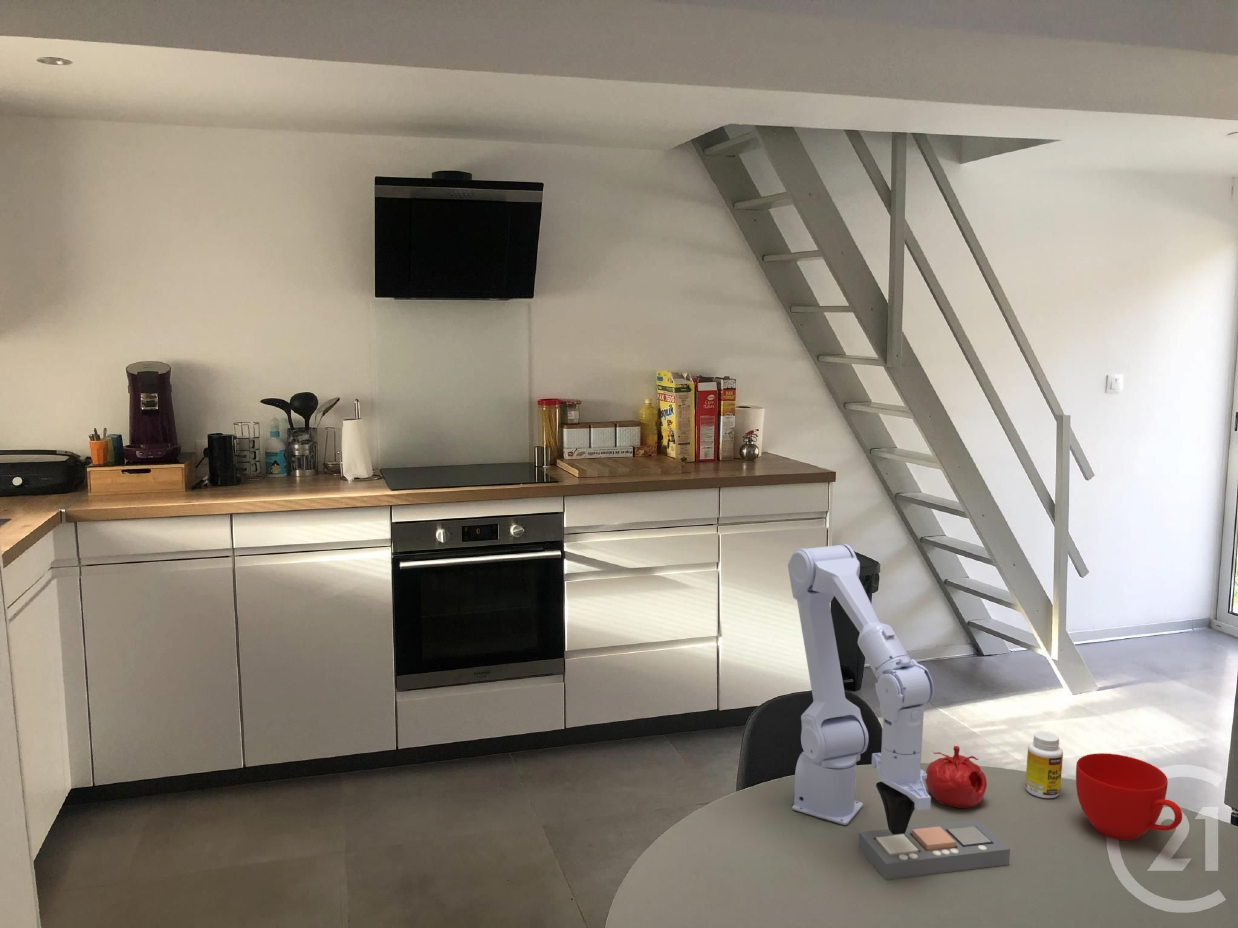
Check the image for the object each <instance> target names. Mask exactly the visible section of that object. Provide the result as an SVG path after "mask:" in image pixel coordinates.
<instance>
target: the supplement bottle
mask: <svg viewBox="0 0 1238 928" xmlns="http://www.w3.org/2000/svg"><path fill="white" fill-rule="evenodd" d="M1059 745H1060V737H1059V736H1058V735H1057V734H1055V733H1053V732H1049V731H1036V732H1034V734H1033V741H1032V742H1030V743H1029V744H1028V746H1027V754H1026V755H1027V756H1026V770H1025V784H1024V785H1025V789H1026V791H1027V792H1028V793H1029V794H1031V795H1033V796H1035V797H1037V798H1043V799H1053V798H1056V797H1058V796H1059V795H1060V793H1061V784H1062V770H1063V761H1064V760H1063V758H1064V752H1063V749H1062V747H1061V746H1059Z"/></svg>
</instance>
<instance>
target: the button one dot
mask: <svg viewBox="0 0 1238 928" xmlns="http://www.w3.org/2000/svg"><path fill="white" fill-rule="evenodd" d="M948 833H949V834H950V835H951V836H952V837H953V838H954V839H955V840H956V841H957V842H958V843H959V844H960V845H961V846H962V847H968V846H977V845H985V844H991V841H990V840H989V839H988V838H987V837H986V836H985V835H984V834H983V833H981V832H980V831H979V830H978V829H977V828H976V827H975V826H973V827H964V828H955V829H948Z"/></svg>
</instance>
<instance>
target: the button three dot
mask: <svg viewBox="0 0 1238 928" xmlns="http://www.w3.org/2000/svg"><path fill="white" fill-rule="evenodd" d="M912 837H913V838H914V839H915V840H916V841H917V842H918V843H919V844H920V845H921V846H922V847H923V848H924V850H925V851H934V850H943V849H951V848H955V843H956V842H955V841H954V840H953V839H952V838H951V837H950V836H949V835H948V834H947V833H946V832H945V831H944V830H943V829H942V828H941V827H940V826H939V827H930V828H921V829H912Z"/></svg>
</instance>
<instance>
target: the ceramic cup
mask: <svg viewBox="0 0 1238 928" xmlns="http://www.w3.org/2000/svg"><path fill="white" fill-rule="evenodd" d="M1075 767H1076V768H1075V786H1076V794H1077V799H1078V802H1079V805H1080V807H1081V809H1082V811H1083V814H1084V815H1085V817H1086V818H1087V820H1088V821H1089V822H1090V823H1091V825H1092V826H1093V828H1094V829H1095V831H1097V832H1098V833H1099V834H1101V835H1103V836H1105V837H1108V838H1110V839H1114V840H1120V841H1133V840H1136V839H1138V838H1139V837H1141V836H1142V835H1144V834H1145V833H1147V832H1148V831H1149V830H1154V831H1162V832H1164V831H1171V830H1173V829H1176V828H1178V827H1179V825H1180V824H1181V823H1182V821H1183V813H1182V809H1181V808H1180V805H1178V804H1177V803H1176V802H1175V801H1172V800H1170V799H1166V796H1167V790H1168V781H1169V780H1168V776H1167V775H1166V773H1164V772H1163V771H1162V770H1161V769H1159V768H1158V767H1156V766H1155V765H1153V764H1151V763H1149V762H1146V761H1144V760H1140V759H1138V758H1135V757H1132V756H1128V755H1121V754H1118V753H1117V754H1116V753H1107V752H1106V753H1103V752H1102V753H1100V752H1097V753H1091V754H1090V753H1089V754H1085V755H1083V756H1081V757H1080V758H1079V759H1077V761H1076V765H1075ZM1164 806H1168V807H1169V808H1170V809H1171V810H1172V812H1173V814H1174V819H1173V822H1172V823H1170V824H1168V825H1164V824H1163V825H1162V824H1157V821H1158V819H1159V817H1160V816H1161V813H1162V811H1163V808H1164Z"/></svg>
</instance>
